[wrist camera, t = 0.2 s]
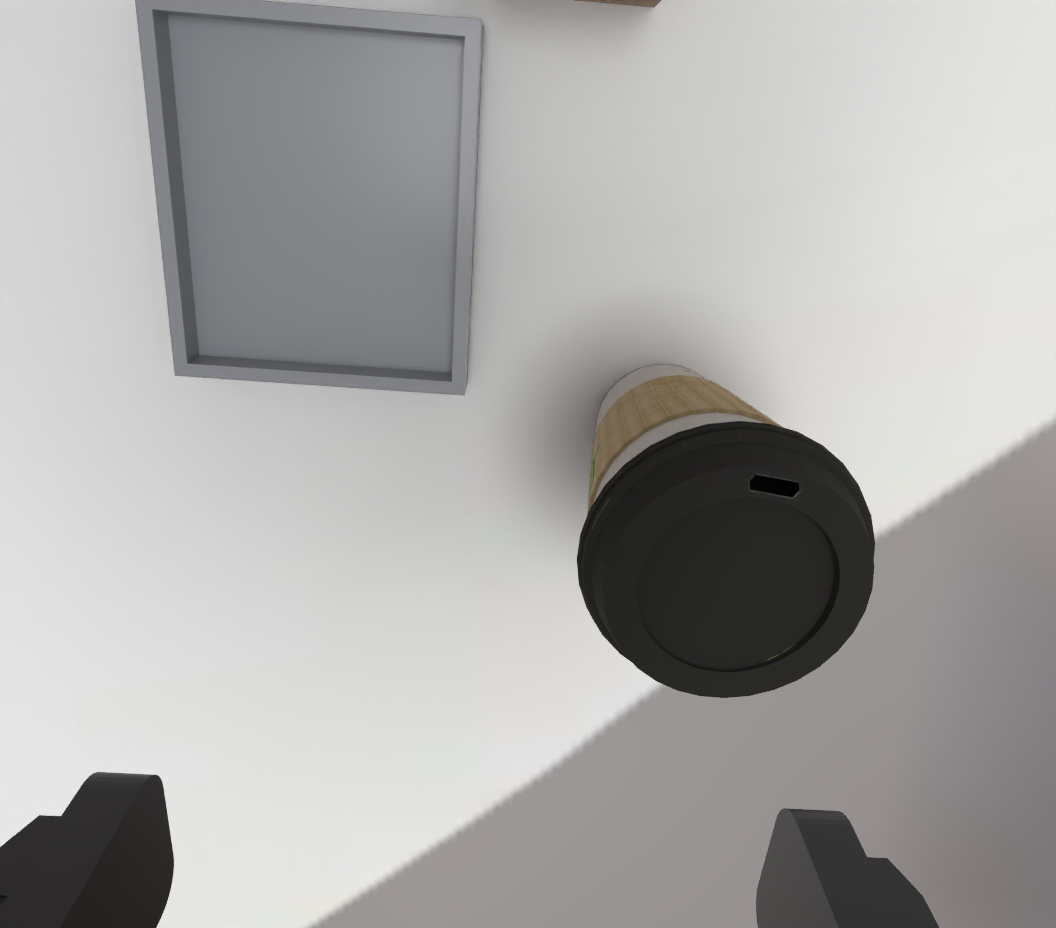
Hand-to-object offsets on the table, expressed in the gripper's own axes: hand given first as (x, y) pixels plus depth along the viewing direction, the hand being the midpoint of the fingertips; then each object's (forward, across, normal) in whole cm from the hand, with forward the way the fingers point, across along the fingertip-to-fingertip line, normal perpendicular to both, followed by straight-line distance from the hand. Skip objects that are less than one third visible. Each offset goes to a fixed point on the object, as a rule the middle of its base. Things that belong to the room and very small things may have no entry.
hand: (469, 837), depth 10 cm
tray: (+28, +8, -5) cm, 30 cm away
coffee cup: (+28, -8, +4) cm, 30 cm away
